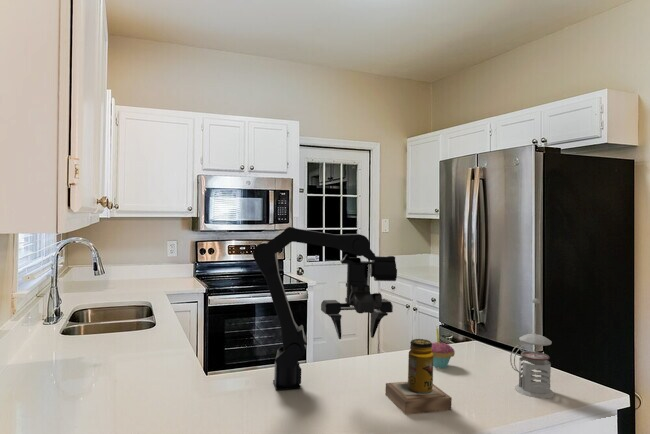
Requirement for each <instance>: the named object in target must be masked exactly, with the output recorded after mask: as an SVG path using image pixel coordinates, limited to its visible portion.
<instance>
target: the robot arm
mask: <svg viewBox="0 0 650 434" xmlns="http://www.w3.org/2000/svg"><path fill="white" fill-rule="evenodd" d="M291 243H300V244H307V245H313V246H317V247H318V246H319V247H327V248H331V249H332V248H334V249H336V250H338V251H339V250H340V251H342V252H345V253H348V254H349V255H353V256H356V257H350V256H349V255H348V254H345V255H344V257H343V258H341V260H340V263H341V264H344V265H347V267H346V268H347V269H346V282H345V288H346V297H345V299H344V300H345V302H340V301H338V300H337V299H328V300H327V299H324V300H322V301H321V305H320V310H321V312H322V313H323V314H325V315H327V316H329V317H330V318H331V321H332V323H333V326H334V329H335V332H336V335H337V338H338V339H339V340H342V321H341V320H342V317H343V315H342V314H340V313H341V312H342V311H355V312H356V313H357V314H363V313H364V314H365V313H368V314H370V330H369V331H370V337H371V339H373V338H375V334H376V332H377V331H378V330H377V329H378V327H379V325H380V322H381V321H382V319H383V318H384V317H386V316H388V315H389V313H393V312H394V311H393V310H394V309H393V307H394V305H393V303H392V302H391V301H390V300H388V299H385V298H383V296H382V294H381V292H378V293H377V292H374V293H371V288H370V285H369V277H370V278H373V280H374V281H375V282H396V281H397V277H398V269H397V262H396V256H394V255H388V256H384V255H382V256H376V254H375V253H374V251H372V249H371V242H370V240H369V238H368V237H367V236H365V235H363V234H361V233H345V234H343V233H340V234H333V233H328V232H321V231H316V230H315V231H314V230H308V229H302V228H298V227H297V228H296V227H293V226H287V227H286V228H285V229H284V230H283V231H282V232H281V233H279V234H278V235H276V236H275V237H274V238H272V239H271V240H269V241H263V242H261V243H259V244H257V245H256V246H255V247H254V249H253V251H252V257H253V260H254V261H255V263H256V265H257V267H258V269H259V271H260V272H261V274H262V275H263V277H264V279H265V282H266V284H267V288H268V291H269V294H270V297H271V300H272V303H273V306H274V309H275V313H276V316H277V319H278V322H279V325H280V330H281V341H282V345H281V346H280V347H279V349H277V351H276V356H275V359H274V375H273V377H274V378H273V380H272V383H273V385H274V388H275V390H276V391H281V390H283V391H285V390H286V391H287V390H296V389H298V390H299V389H301V384H302V367H301V366H300V361H299V360H301V359H302V358H303V357H304V355H305V353H306V346H307V345H308V337H307V336H306V334H305V331H304V330H305V329H304V325H303V324H300V326H299V325H298V324H297V323H296V321H295V319H294V316H293V312H292V310H291V306H290V303H289V300H288V297H287V294H286V290H285V287H284V285H283V281H282V278H281V275H280V269H279V259H278V258H279V257H278V253H279V252H280V251H281V250H283V249H284V248H285V247H287V246H288V245H289V244H291ZM361 257H364V258H365V259H366V260H368V261H365V260H361ZM369 265H370V266H369Z"/></svg>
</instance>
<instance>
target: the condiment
mask: <svg viewBox="0 0 650 434" xmlns="http://www.w3.org/2000/svg"><path fill="white" fill-rule="evenodd" d="M432 343H433V342H432V341H431V340H429V339H423V338H415V339H412V340H411V341H410V346H409V349H410V350H409V352H408V367H407V369H408V370H407V382H408V383H403V384H401V383H396V385H397V386H398V387H399V389H400V390H401V391H402V392H403V393H404V394H405V395H417V394H418V395H426V394H438V392H436V391H435V390H434V389H433V388H432V386H433V384H434V366H433V353H432Z"/></svg>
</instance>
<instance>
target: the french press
mask: <svg viewBox="0 0 650 434" xmlns="http://www.w3.org/2000/svg"><path fill="white" fill-rule="evenodd" d="M531 302H532V303H533V304H540V303H541V300H540V299H539V298H533V299H532V301H531ZM534 310H535V312H534V313H535V314H534V315H535V316H534V317H535V318H534V319H535V320H534V321H535V324H534V333H527V334H524V335H521V336H520V337H519V338H518V339H519V342H521V343H524V344H527V345H530V346H531V345H532V346H539V347H540V346H543V347H545V346H550V345H552V340H550V339H549V338H547V337H546V336H543V335H542V334H538V333H536V332H537V330H536V329H537V308H535V309H534ZM517 347H519V348H518V349H517V350H516V348H517ZM522 348H523V350H522ZM515 350H516V351H515ZM514 351H515V353H514V357H513V356H512V355H513V352H514ZM519 351H520V356H521V357H519V362H518V364H519V365H518V366H519V367H518V368H517V366H516V356H517V353H518V352H519ZM509 356H510V357H509V358H510V360H509V362H510V366H511V368H512V369H513V370H514V371H516V372H517V373H518V384H517V385H515V386H514V390H515V391H516V392H517V393H519V394H522V395H524V396H526V397H529V398H536V399H551V398H553V397H555V393H554V391H553V390H552V389H551V371H552V370H551V369H552V368H551V367H552V366H551V365H552V364H551V361H549V360H550V358H551V357H550V356H549V355H548V354H546V353H543V352H538V351H532V350H526V351H525V346H522V345H521V344H518V345H516V346H514V348H512V351H511V353H510V355H509ZM512 357H513V363H512ZM525 361H526V362H525ZM513 364H514V365H513ZM534 370H535V371H534ZM535 375H536V376H535ZM537 380H538V381H537Z"/></svg>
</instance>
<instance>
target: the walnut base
mask: <svg viewBox="0 0 650 434" xmlns="http://www.w3.org/2000/svg"><path fill="white" fill-rule="evenodd" d="M396 383H401V384H403V383H408V381H400V382H399V381H397V382H385V397H387V398H388V399H389V400H390V402H392V403H393V404H394V405H395V406H396V407H397V408H398V409H399V410H400V411H401V412H402V413H403V414H404V415H411V414H412V415H414V414H425V413H426V414H427V413H434V412H435V413H436V412H446V411H452V400H453V399H452V397H451V396H450V395H449V394H447V392H445V391H443V390H442V389H441V388H439V387H438V386H437V385H435V384H434V383H433V386H432V388H433V389H434V390H435V391H436V392H438V394H426V395H418V394H417V395H405V394H404V393H403V392H402V391H401V390H400V389H399V387H398V386H397V385H396Z"/></svg>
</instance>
